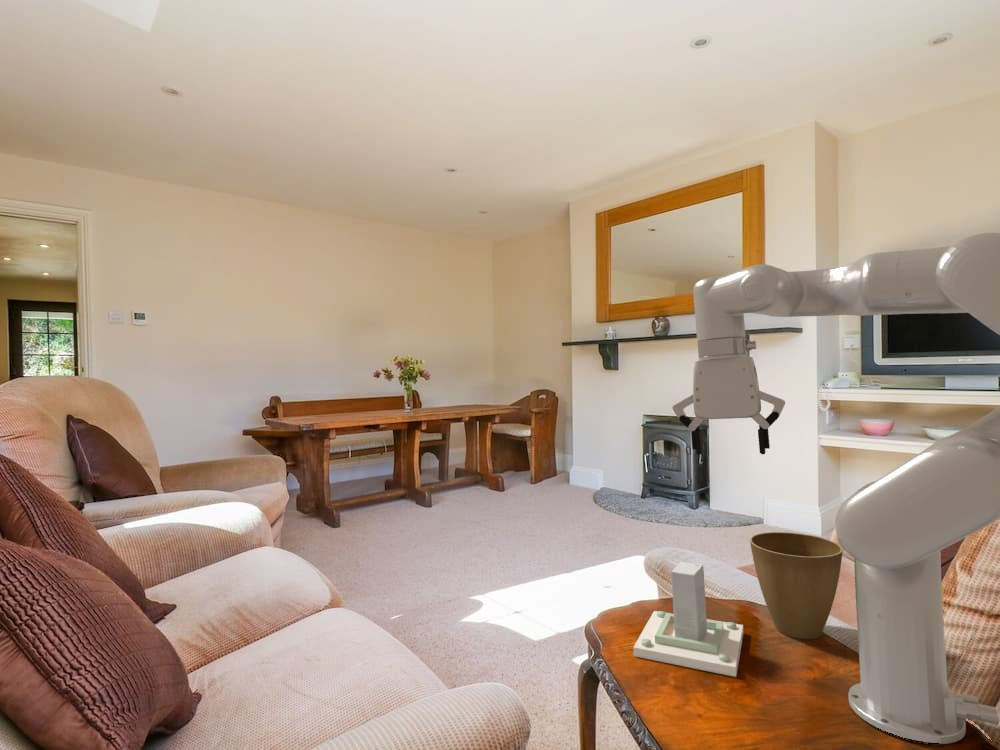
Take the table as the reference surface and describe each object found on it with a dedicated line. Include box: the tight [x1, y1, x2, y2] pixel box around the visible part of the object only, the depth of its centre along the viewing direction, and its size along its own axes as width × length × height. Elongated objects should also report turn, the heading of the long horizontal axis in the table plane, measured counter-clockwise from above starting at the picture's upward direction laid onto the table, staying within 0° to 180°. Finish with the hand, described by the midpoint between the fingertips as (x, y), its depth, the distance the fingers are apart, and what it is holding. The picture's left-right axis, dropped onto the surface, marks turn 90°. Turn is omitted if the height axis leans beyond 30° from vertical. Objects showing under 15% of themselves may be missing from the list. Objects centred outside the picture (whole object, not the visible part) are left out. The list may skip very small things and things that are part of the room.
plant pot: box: [749, 531, 844, 640], centre depth 97 cm, size 15×15×16 cm
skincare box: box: [670, 561, 708, 641], centre depth 94 cm, size 6×4×12 cm
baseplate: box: [632, 610, 744, 678], centre depth 94 cm, size 16×16×3 cm
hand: (730, 453), depth 88 cm, fingers open, 9 cm apart
